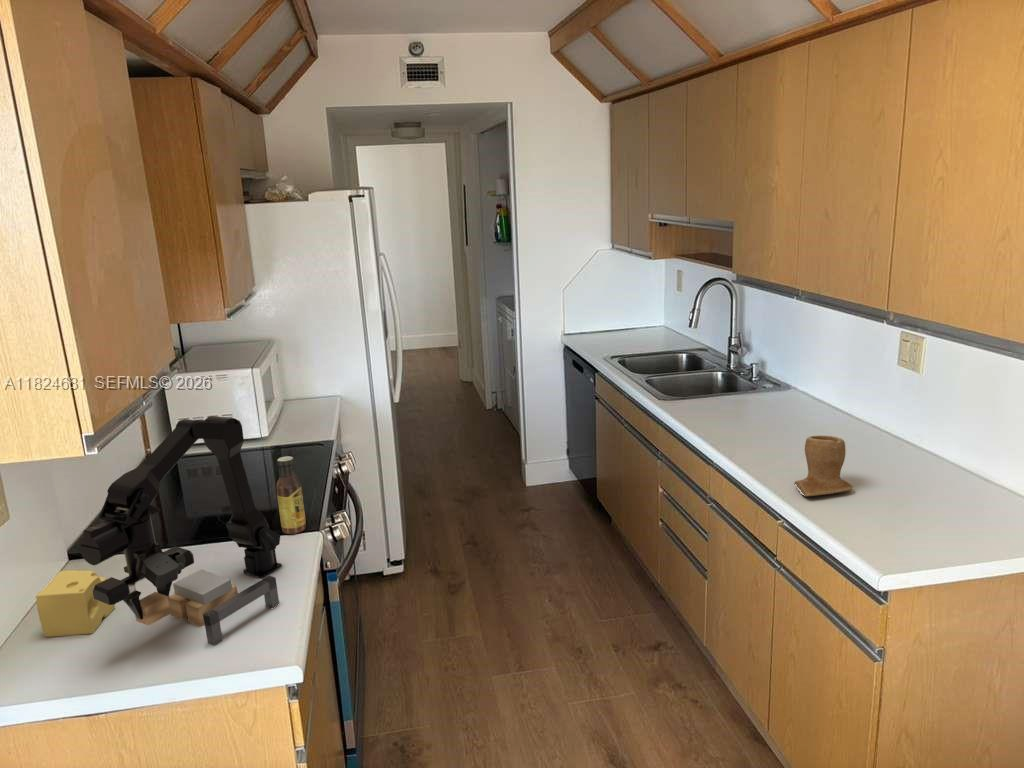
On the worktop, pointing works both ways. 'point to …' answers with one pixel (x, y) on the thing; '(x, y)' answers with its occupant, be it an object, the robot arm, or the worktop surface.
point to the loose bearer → (154, 608)
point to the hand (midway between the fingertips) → (152, 612)
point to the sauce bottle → (290, 498)
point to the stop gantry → (239, 606)
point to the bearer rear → (178, 606)
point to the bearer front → (206, 607)
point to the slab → (202, 586)
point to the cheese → (71, 604)
